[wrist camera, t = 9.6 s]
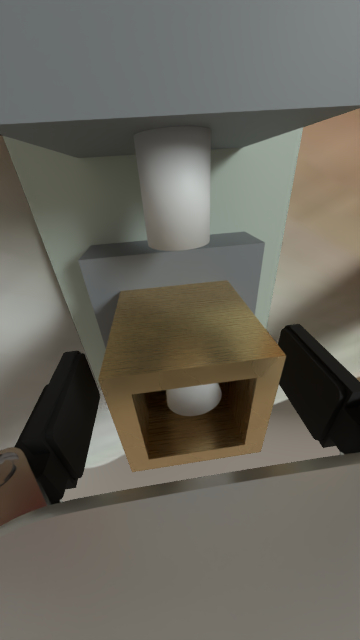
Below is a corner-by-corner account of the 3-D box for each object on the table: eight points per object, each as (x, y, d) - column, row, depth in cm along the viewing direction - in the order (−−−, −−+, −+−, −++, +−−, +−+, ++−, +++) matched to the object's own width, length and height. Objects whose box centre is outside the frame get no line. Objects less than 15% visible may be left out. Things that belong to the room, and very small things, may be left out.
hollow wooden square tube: (120, 291, 11) (98, 379, 6) (227, 280, 12) (286, 356, 7) (138, 369, 14) (132, 472, 9) (222, 359, 15) (260, 452, 10)
